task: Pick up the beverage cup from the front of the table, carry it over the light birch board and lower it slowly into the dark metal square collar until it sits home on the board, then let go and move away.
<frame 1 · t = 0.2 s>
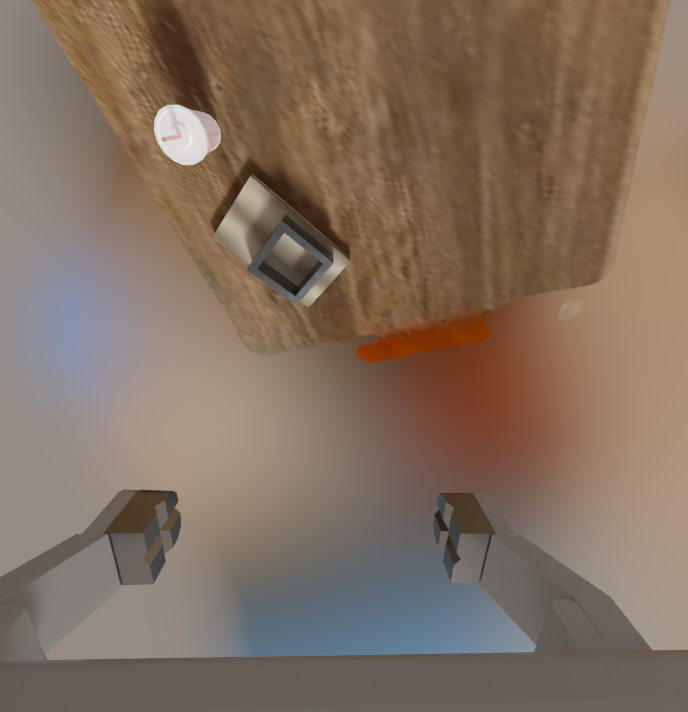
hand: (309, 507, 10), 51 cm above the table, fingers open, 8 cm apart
cup collar: (293, 253, 57), resting on socket board
beverage cup: (204, 131, 46), on the table
socket board: (284, 246, 56), on the table
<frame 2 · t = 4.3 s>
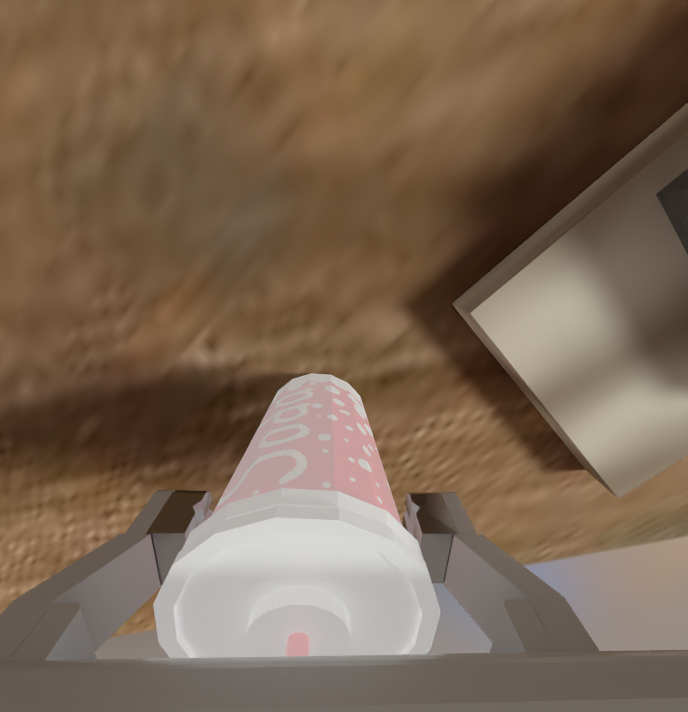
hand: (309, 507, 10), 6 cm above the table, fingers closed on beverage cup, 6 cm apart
beverage cup: (317, 415, 16), on the table, touching gripper
when the fingers open (8 cm above the table, at t = 10.7 s): beverage cup stays where it is, resting on socket board.
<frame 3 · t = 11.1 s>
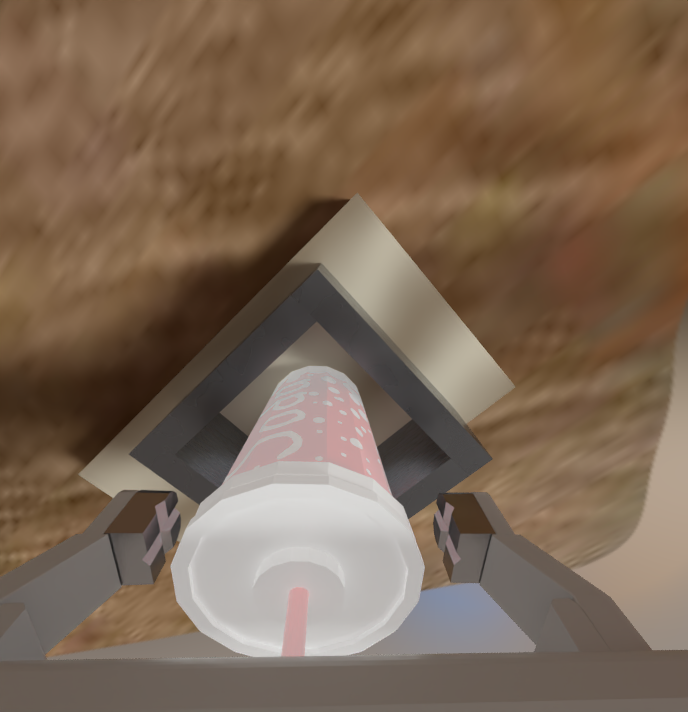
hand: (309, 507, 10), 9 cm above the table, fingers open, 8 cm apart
cup collar: (320, 391, 18), resting on socket board
beverage cup: (317, 405, 17), point 2 cm above the table, touching socket board
socket board: (295, 412, 19), on the table
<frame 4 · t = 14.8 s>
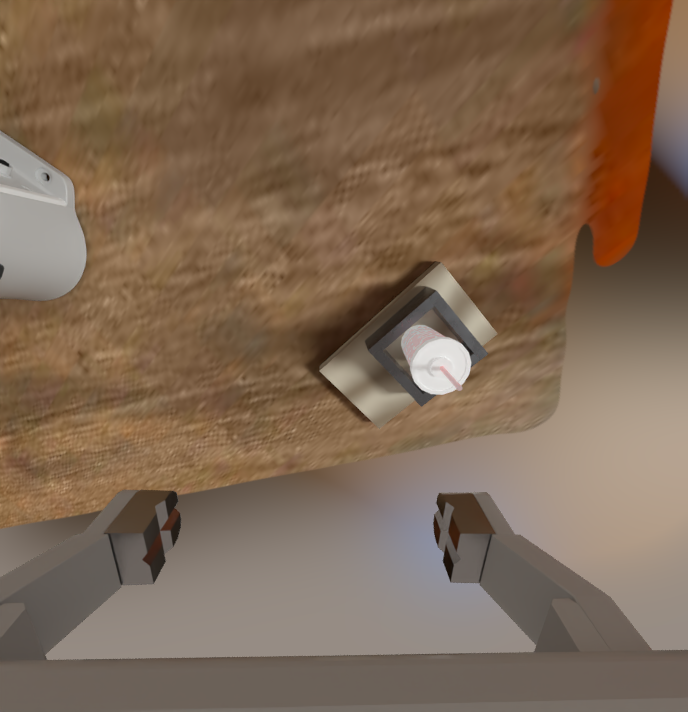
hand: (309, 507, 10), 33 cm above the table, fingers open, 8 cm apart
cup collar: (415, 338, 43), resting on socket board
beverage cup: (418, 341, 41), point 2 cm above the table, touching socket board
socket board: (404, 347, 44), on the table
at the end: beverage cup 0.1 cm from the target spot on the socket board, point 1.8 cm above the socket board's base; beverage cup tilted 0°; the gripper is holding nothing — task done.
